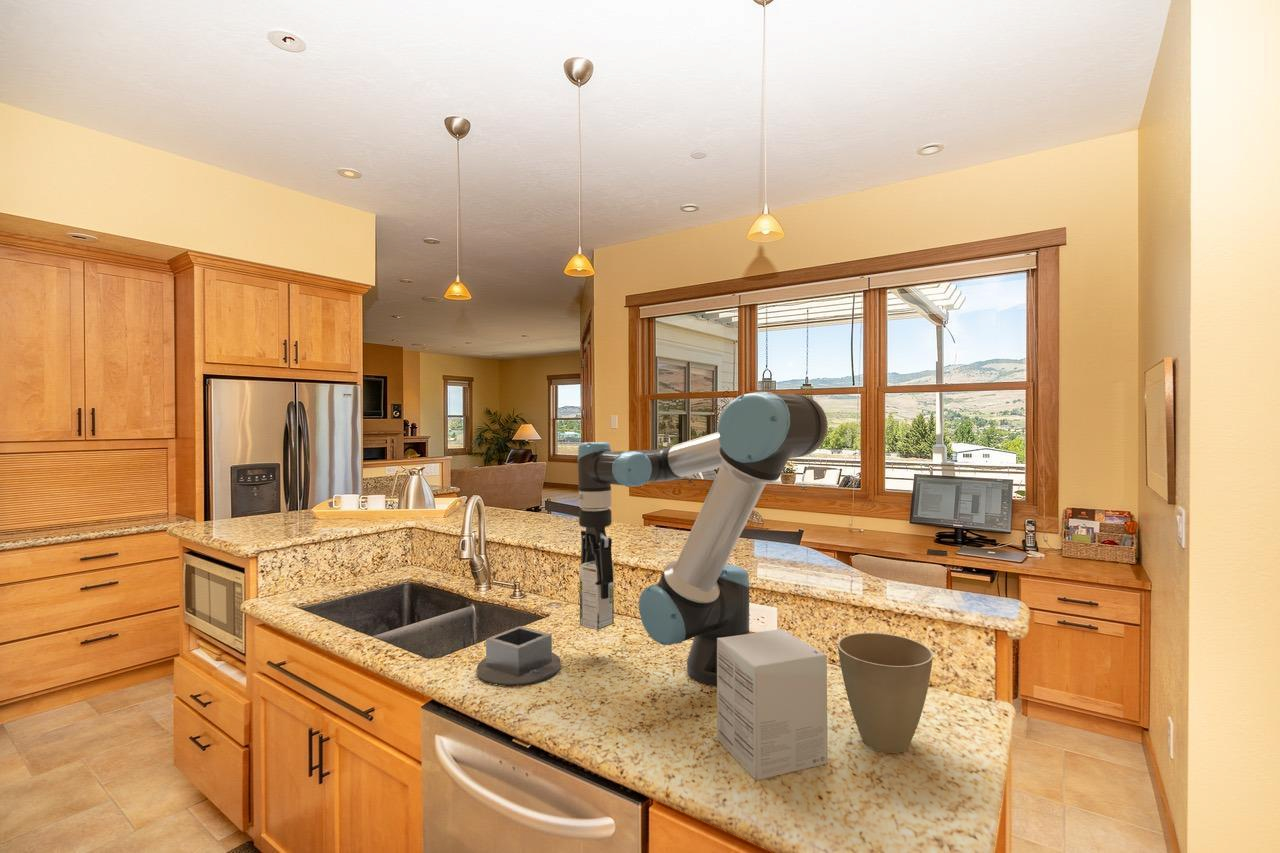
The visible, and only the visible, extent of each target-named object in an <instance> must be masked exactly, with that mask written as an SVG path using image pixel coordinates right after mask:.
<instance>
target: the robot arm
mask: <svg viewBox="0 0 1280 853" xmlns="http://www.w3.org/2000/svg"><path fill="white" fill-rule="evenodd" d="M828 428H829V427H828V418H827V415H826V413H825V410H824V409H823V407H822V406H821V405H820V404H819V402H817V401H816V400H814V399H813V398H811V397H809V396H807V395H804V394H799V393H797V394H796V393H777V392H776V393H773V392H769V391H756V392H749V393H744V394H742V395H739V396H737V397H735V398H734V399H732V400H731V401H730V402H729V403H728V404H727V405H726V406H725V408H724V409H723V410H722V413H721V414H720V417H719V420H718V424H717V431H716V432H714V433H711V434H709V433H708V434H707V435H703V436H700V437H697V438H693V439H690V440H686V441H684V442H680V443H677V444H675V445H670V446H668V447H663V448H660V449H659V448H658V449H644V450H643V449H642V450H641V449H640V450H621V451H620V450H619V451H617V450H615V451H613V450H612V451H611V445H610V443H609V442H608V441H595V442H594V441H589V442H587V441H585V442H581V443H580V444H579V445H578V448H577V451H578V452H577V475H578V476H577V477H578V478H577V481H578V495H577V496H576V499H577V500H578V506H579V508H580V509H579V511H578V524H579V526H580V527H583V528H585V529H584V530H580V538H581V542H580V543H581V546H580V551H581V552H580V564H583V563H587V562H591V561H595V563H596V567H597V576H598V582H596V583H595V584H596V585H597V613H605V612H610V610H609V583H610V582H613V573H614V567H613V568H612V563H613V556H612V554H613V552H612V541H613V540H612V537H607V534H606V533H607V532H606V528H607V527H610V526H611V525H612V522H613V521H612V516H613V515H612V510H611V507H612V504H613V503H612V485H615V486H616V485H617V486H623V487H627V488H630V487H641V486H643V485H645V484H651V483H659V482H676V481H679V480H683V479H684V478H685V477H687V476H691V475H695V474H699V473H704V472H708V471H712V470H715V469H718V471H717V474H716V476H715V478H714V480H713V482H712V485H711V487H710V488H709V490H708V491H709V492H708V493H707V495H706V498H705V499H704V502H703V504H702V505H701V508H700V510H699V513H698V515H697V516H696V519H695V521H694V524H693V525H692V527H691V530H690V532H689V535H688V536H687V538H686V541H685V543H684V545H683V547H682V549H681V552H680V554H679V556H678V559H676V560H675V561H671V562H669V563H668V564H667V565H666V566H665V567H664V570H663V572H662V574H661V576H660V578H659V580H658V582H657V583H656V584H651V585H648V587H646V588H644V589H643V591H642V592H641V593H640V596H639V600H638V613H639V614H638V615H639V616H640V620H641V624H642V626H643V627H644V629H645V631H646V632H647V634H648V635H649V636H650V637H651V639H652V640H653V641H655V642H656V643H658V644H660V645H663V646H672V645H675V644H676V645H677V644H682V643H683V642H685V641H688V640H690V639H693V640H692V644H691V647H690V648H689V649H690V650H689V652H688V656H687V660H686V672H687V675H689V677H690V678H692V679H693V680H695V681H696V682H699V683H702V684H704V685H705V684H706V685H709V686H716V687H717V638H722V637H730V636H737V635H744V634H750V589H751V586H750V577H749V573H748V571H747V570H746V569H745V568H743V567H741V566H738V565H735V564H728V563H727V562H728V560H729V558H730V556H731V554H732V552H733V550H734V549H735V546H736V544H737V542H738V540H739V538H740V537H741V535H742V532H743V531H744V529H745V526H746V525H747V522H748V520H749V518H750V517H751V514H752V512H753V510H754V508H755V507H756V505H757V503H758V501H759V499H760V497H761V495H762V493H763V491H764V489H765V487H766V485H767V484H769V483H774V482H776V481H778V480H779V478H780V476H781V475H782V474H783V472H784V469H785V468H786V465H787V463H788V461H789V460H790V459H795V458H800V457H805V456H809V455H811V454H812V453H813V452H816V451H817V450H818V449H819V448H820V447H821V446H822V445H823V443H824V441H825V439H826V437H827V435H828V434H827V433H828ZM605 577H606V578H605Z"/></svg>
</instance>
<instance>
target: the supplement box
mask: <svg viewBox="0 0 1280 853" xmlns="http://www.w3.org/2000/svg"><path fill="white" fill-rule="evenodd" d="M827 657H828V655H827V654H826V653H824V651H821V650H820V649H817V648H816V647H814V646H812V645H810V644H809V643H807V642H805V641H804V640H802V639H800V638H798V637H796V636H794V635H793V634H791V633H789V632H787V631H786V630H784V629H783V628H778V629H772V630H763V631H759V632H752V633H749V634H744V635H737V636H730V637H722V638H717V686H716V724H717V725H716V726H717V727H716V734H717V735H716V736H717V737H716V739H717V741H718V742H719V743H721V745H722V747H724V748H725V749H726V750H727V752H728V753H729V754H730V755H731V756H732V757H733V758H734V759H735V760H736V761H737V763H739V764H740V765H741V767H742V769H743V768H744V770H745V771H746V772H747V773H748V774H749V775H750V776H751V777H752V779H754V780H755V781H759V780H763V779H768V778H772V777H776V776H781V775H784V774H788V773H793V772H797V771H802V770H805V769H809V768H813V767H818V766H822V765H823V766H824V765H826V764H828V756H829V755H828V752H829V750H828V658H827Z"/></svg>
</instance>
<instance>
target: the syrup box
mask: <svg viewBox="0 0 1280 853" xmlns="http://www.w3.org/2000/svg"><path fill="white" fill-rule="evenodd" d="M612 568H613V569H614V563H613V562H612ZM614 574H615V573H614V572H613V582H610V583H609V610H610V612H605V613H597V585H596V584H595V583H596V582H598V576H597V567H596V563H595V561H591V562H587V563H583V564H581V563H580V564H579V626H581V627H582V628H588V629H590V630H595V631H600V630H601V629H604V628H607V627H609V626H612V625H614V622H615V612H614V611H615V610H614V608H615V607H614V597H615V595H614V591H615V590H614V587H615V586H614V579H615V578H614ZM605 578H606V577H605Z"/></svg>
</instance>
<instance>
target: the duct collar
mask: <svg viewBox="0 0 1280 853" xmlns="http://www.w3.org/2000/svg"><path fill="white" fill-rule="evenodd" d="M552 636H553V635H552V634H551V633H547V632H543V631H540V630H536V629H533V628H529V627H525V626H521V625H519V626H516V627H514V628H511V629H509V630H506V631H503V632H500V633H497V634H494V635H492V636H490V637H488V638H485V654H486V655H485V657H484V658H483V659H482V660H481V661H480V662H478V665H477V666H476V674H477V677H478V679H479V680H481V681H482V680H483V682H484V681H485V682H484V683H486V682H487V684H489V683H491V684H490V685H493V684H497V685H496V686H498V685H505V686H504V687H521V686H520V685H523V686H528V685H527V684H529V685H533V683H534V684H537V683H540V682H541V683H542V682H544V681H546V680H548V679H551V678H552V677H554V676H555V675H556V674H558V673H559V671H560V669H561V665H562V664H561V663H562V660H561V659H560V656H559V655H557V654H556V653H554V652H553V650H552V648H553V644H552V643H553V642H552V641H553V640H552V639H553V638H552ZM517 685H519V686H517Z"/></svg>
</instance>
